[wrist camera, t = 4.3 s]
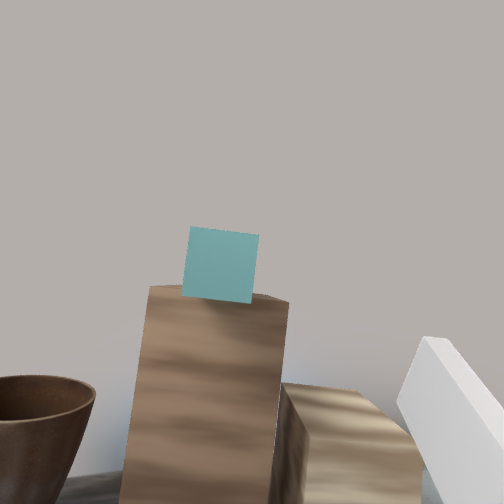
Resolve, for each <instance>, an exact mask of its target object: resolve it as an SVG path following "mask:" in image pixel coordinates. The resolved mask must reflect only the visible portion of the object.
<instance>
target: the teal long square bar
mask: <svg viewBox="0 0 504 504" xmlns="http://www.w3.org/2000/svg"><path fill="white" fill-rule="evenodd" d="M258 240H259V235H255V234H247V233H239V232H231V231H224V230H216V229H208V228H199V227H192V226H191V228H190V234H189V242H188V249H187V256H186V263H185V271H184V278H183V285H182V293H181V296H189V297H198V298H206V299H215V300H224V301H232V302H241V303H250V304H251V300H252V290H253V283H254V274H255V265H256V257H257V248H258Z"/></svg>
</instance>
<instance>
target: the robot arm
mask: <svg viewBox="0 0 504 504" xmlns="http://www.w3.org/2000/svg"><path fill="white" fill-rule="evenodd" d="M396 402H397V405H398V407H399V409H400V411H401V413H402V415H403V418H404V420H405V422H406V424H407V426H408V428H409V430H410V432H411V435H412V437H413V439H414V441H415V443H416V445H417V448H418V450H419V452H420V454H421V456H422V458H423V460H424V463H425V465H426V467H427V469H428V471H429V473H430V475H431V478H432V480H433V482H434V484H435V486H436V488H437V490H438V493H439V495H440V497H441V499H442V501H443V503H444V504H504V409H503V408H502V406H501V405H500V404H499V403H498V401H497V400H496V399H495V398H494V396H493V395H492V394H491V393H490V391H489V390H488V389H487V388H486V387H485V385H484V384H483V383H482V381H481V380H480V379H479V378H478V376H477V375H476V374H475V373H474V372H473V370H472V369H471V368H470V366H469V365H468V364H467V363H466V361H465V360H464V359H463V358H462V356H461V355H460V354H459V353H458V351H457V350H456V349H455V348H454V346H453V345H452V344H451V343H450V341H449V340H448V339H446V338H436V337H428V336H423V338H422V340H421V343H420V345H419V347H418V350H417V352H416V355H415V357H414V360H413V362H412V365H411V367H410V369H409V372H408V374H407V376H406V379H405V381H404V384H403V386H402V389H401V391H400V394H399V396H398V399H397V401H396Z"/></svg>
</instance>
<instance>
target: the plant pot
mask: <svg viewBox="0 0 504 504" xmlns="http://www.w3.org/2000/svg"><path fill="white" fill-rule="evenodd" d="M95 397H96V392H95V390H94V388H93V387H92V386H90V385H89V384H87V383H85V382H82V381H79V380H75V379H71V378H65V377H58V376H48V375H47V376H46V375H17V376H5V377H0V504H55V502H56V500H57V497H58V495H59V493H60V491H61V489H62V487H63V485H64V482H65V480H66V478H67V476H68V473H69V471H70V469H71V466H72V464H73V461H74V458H75V456H76V453H77V451H78V449H79V446H80V443H81V441H82V438H83V435H84V432H85V429H86V426H87V423H88V420H89V417H90V414H91V410H92V407H93V404H94V400H95Z"/></svg>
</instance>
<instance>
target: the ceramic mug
mask: <svg viewBox="0 0 504 504" xmlns="http://www.w3.org/2000/svg"><path fill="white" fill-rule="evenodd" d="M421 504H444V503H443V501H442V499H441V497H440V495H439V493H438V490H437V488H436V486H435V484H434V482H433V480H432V478H431V475H430V473H429V471H428V470H424V469H423V475H422V490H421Z"/></svg>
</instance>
